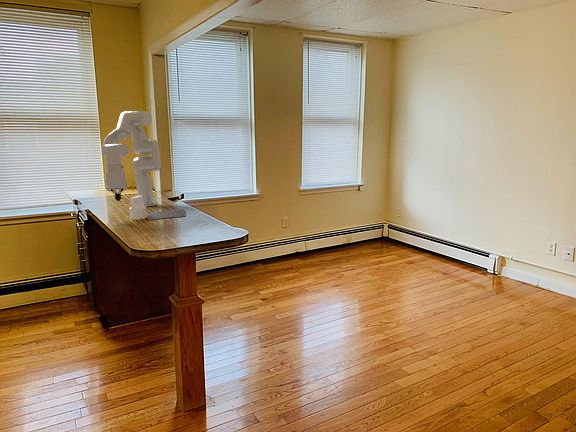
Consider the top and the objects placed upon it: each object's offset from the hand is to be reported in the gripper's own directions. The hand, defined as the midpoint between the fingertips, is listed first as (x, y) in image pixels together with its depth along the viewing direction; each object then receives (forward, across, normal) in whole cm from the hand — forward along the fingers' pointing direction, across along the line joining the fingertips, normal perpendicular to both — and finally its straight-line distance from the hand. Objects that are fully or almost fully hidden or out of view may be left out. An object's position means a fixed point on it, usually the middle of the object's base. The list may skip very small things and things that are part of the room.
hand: (118, 200), depth 238 cm
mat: (+11, -25, 0) cm, 27 cm away
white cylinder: (+11, -10, 0) cm, 14 cm away
